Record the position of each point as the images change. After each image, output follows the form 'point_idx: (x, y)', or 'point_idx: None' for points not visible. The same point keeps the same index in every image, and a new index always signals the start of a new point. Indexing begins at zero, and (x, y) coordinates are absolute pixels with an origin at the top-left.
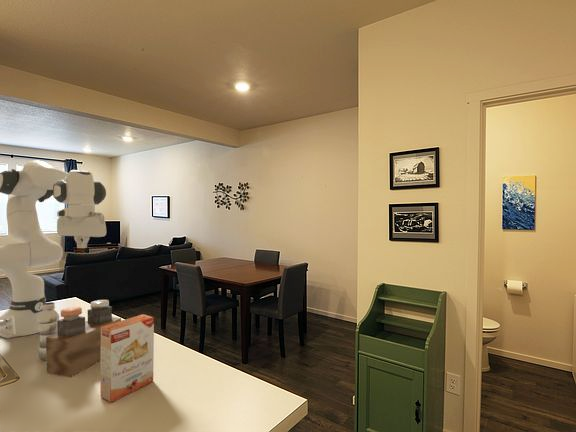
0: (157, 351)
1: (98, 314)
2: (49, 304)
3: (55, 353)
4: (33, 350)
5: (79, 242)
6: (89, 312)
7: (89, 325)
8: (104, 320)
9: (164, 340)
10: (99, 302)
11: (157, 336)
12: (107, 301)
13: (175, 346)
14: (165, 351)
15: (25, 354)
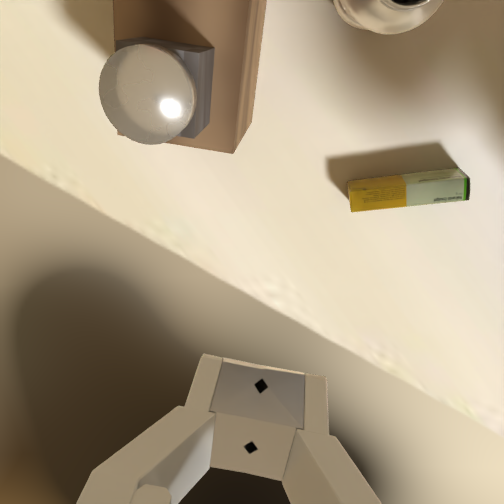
0: (34, 103)
1: (132, 40)
2: (423, 1)
3: None
4: (486, 50)
5: (296, 463)
6: (189, 49)
7: (182, 17)
8: None
9: (73, 188)
10: (137, 87)
11: (116, 216)
12: (111, 113)
13: (8, 147)
14: (10, 106)
15: (495, 8)
